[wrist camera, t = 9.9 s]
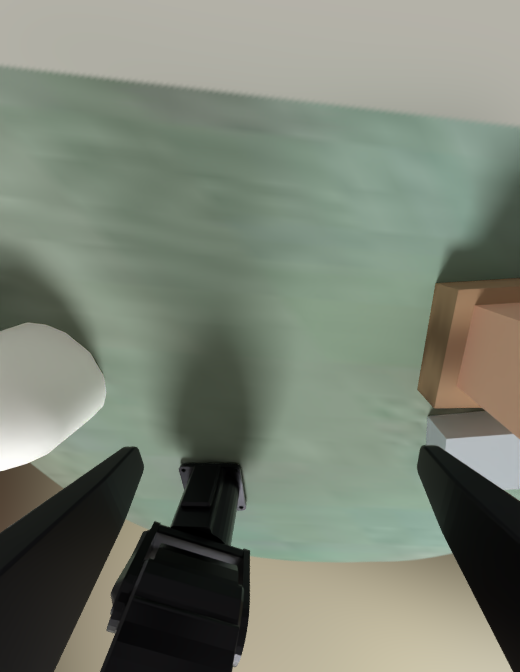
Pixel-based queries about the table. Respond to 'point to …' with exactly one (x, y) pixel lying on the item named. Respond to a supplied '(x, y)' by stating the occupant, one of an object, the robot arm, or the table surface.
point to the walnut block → (456, 336)
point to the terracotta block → (494, 362)
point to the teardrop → (43, 391)
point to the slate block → (478, 445)
